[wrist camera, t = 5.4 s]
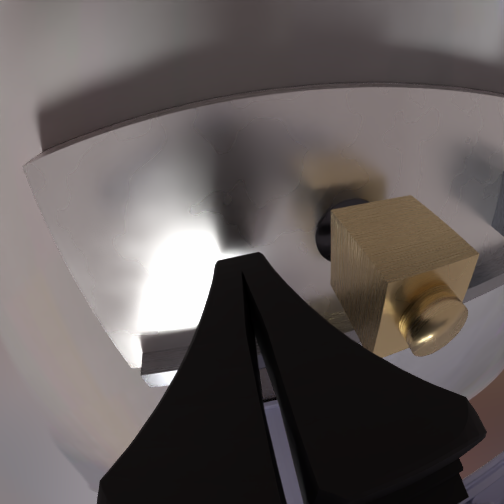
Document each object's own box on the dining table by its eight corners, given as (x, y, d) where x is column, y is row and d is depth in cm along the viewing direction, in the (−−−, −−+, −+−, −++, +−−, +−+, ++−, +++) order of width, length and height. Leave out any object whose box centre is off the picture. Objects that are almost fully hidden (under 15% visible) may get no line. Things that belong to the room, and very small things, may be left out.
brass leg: (394, 258, 11) (463, 347, 7) (325, 276, 11) (381, 383, 7) (403, 189, 10) (498, 272, 6) (324, 202, 9) (405, 308, 6)
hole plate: (523, 239, 16) (580, 296, 10) (134, 344, 14) (126, 469, 9) (549, 105, 10) (629, 147, 4) (42, 152, 8) (-79, 261, 3)
